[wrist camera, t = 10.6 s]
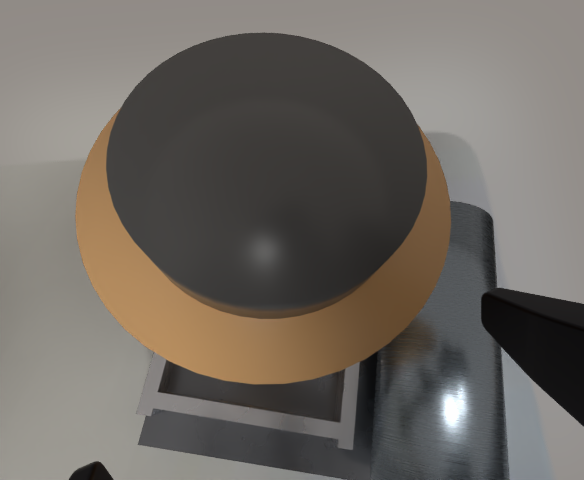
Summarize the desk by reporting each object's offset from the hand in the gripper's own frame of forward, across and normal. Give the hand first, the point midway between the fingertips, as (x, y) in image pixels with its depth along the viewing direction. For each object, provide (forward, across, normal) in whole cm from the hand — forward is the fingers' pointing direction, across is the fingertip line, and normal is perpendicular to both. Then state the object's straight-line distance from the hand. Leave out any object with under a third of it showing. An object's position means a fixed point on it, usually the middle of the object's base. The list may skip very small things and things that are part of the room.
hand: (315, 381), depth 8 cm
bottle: (+9, 0, +4) cm, 10 cm away
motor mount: (+9, -2, +7) cm, 12 cm away
